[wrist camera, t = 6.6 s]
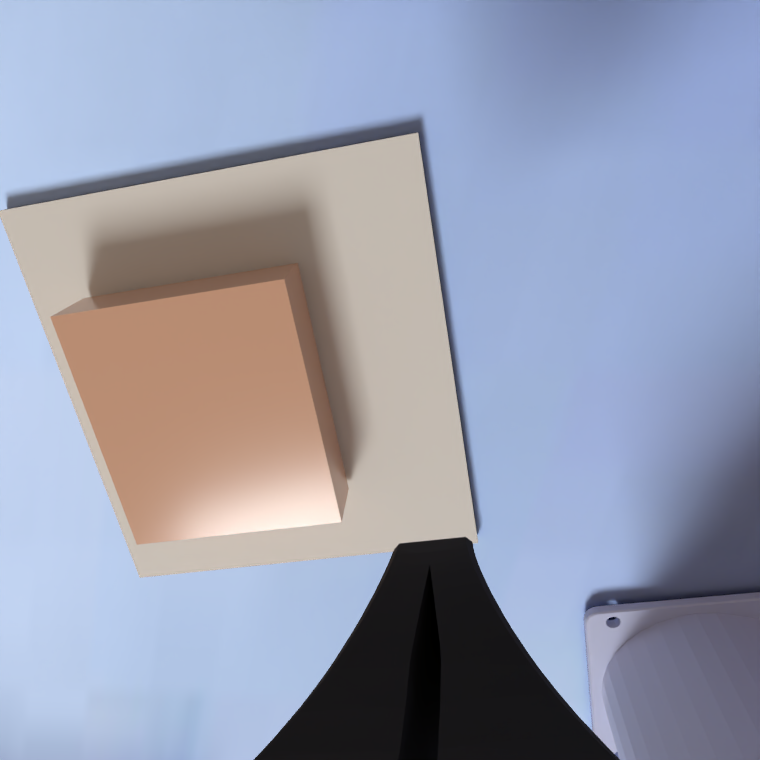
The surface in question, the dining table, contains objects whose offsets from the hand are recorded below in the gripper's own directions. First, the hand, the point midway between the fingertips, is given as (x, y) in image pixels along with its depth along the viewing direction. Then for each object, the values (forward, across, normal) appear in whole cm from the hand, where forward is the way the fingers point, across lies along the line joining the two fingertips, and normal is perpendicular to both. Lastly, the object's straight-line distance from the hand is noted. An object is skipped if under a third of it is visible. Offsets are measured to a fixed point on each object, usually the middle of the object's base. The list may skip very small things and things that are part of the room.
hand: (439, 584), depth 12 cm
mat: (+10, +6, 0) cm, 12 cm away
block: (+9, +4, 0) cm, 9 cm away
